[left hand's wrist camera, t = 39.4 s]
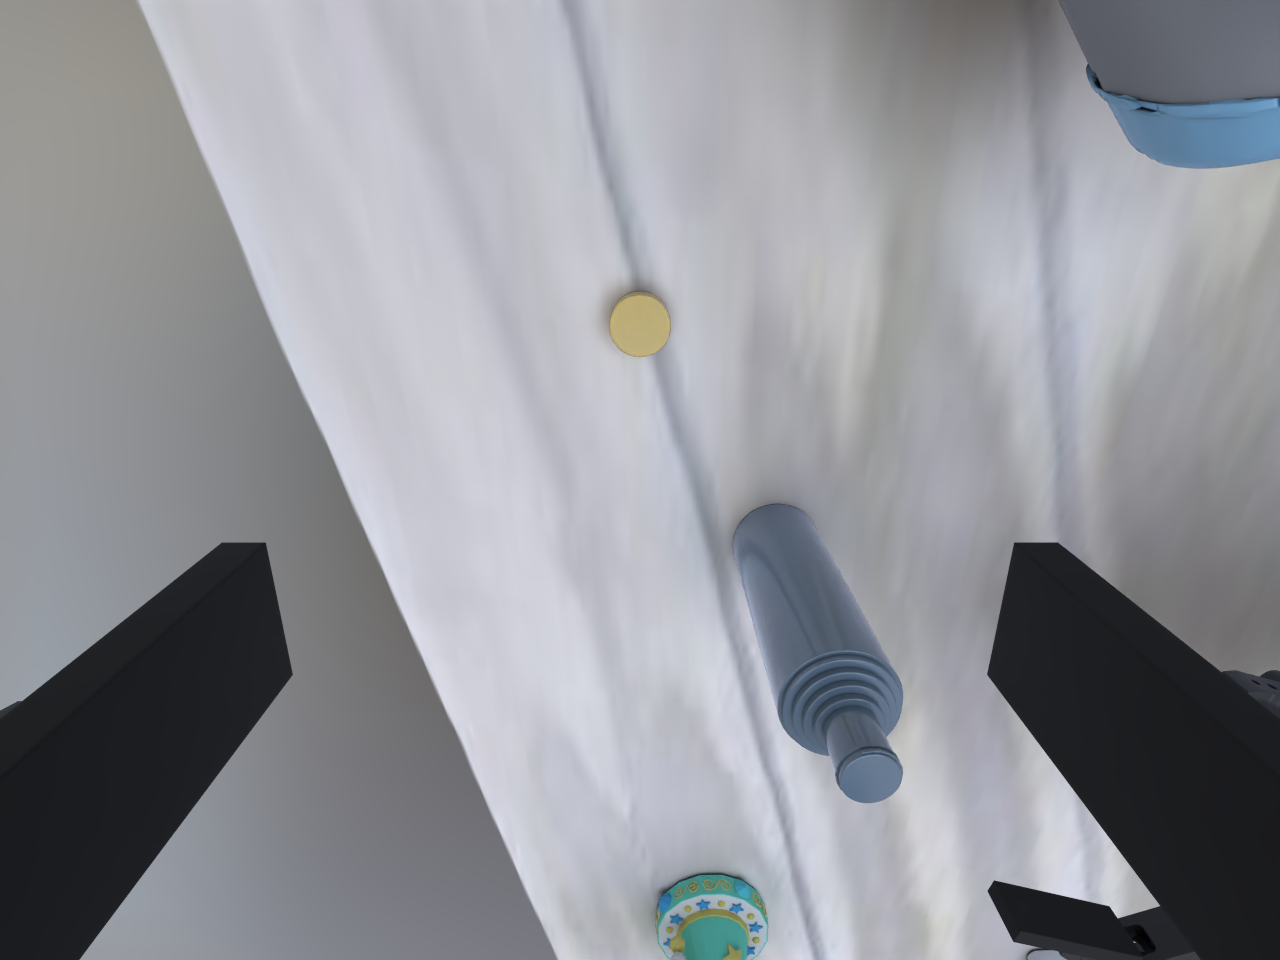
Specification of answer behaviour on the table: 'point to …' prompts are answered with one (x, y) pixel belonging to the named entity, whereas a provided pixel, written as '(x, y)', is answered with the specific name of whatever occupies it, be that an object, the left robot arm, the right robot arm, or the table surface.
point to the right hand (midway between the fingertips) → (1069, 806)
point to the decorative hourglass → (711, 920)
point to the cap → (640, 324)
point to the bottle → (819, 651)
